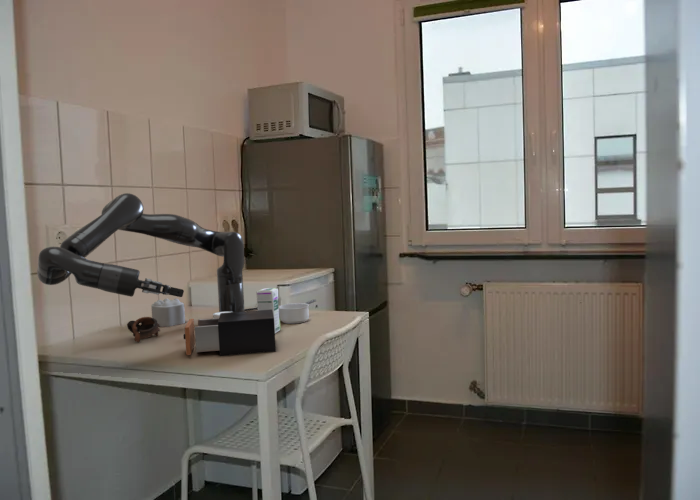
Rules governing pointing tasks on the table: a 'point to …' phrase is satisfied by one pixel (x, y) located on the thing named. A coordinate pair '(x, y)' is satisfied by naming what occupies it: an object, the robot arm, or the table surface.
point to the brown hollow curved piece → (143, 328)
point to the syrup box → (269, 304)
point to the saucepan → (294, 312)
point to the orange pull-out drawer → (202, 335)
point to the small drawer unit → (246, 332)
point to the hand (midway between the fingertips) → (183, 293)
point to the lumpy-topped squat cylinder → (168, 312)
